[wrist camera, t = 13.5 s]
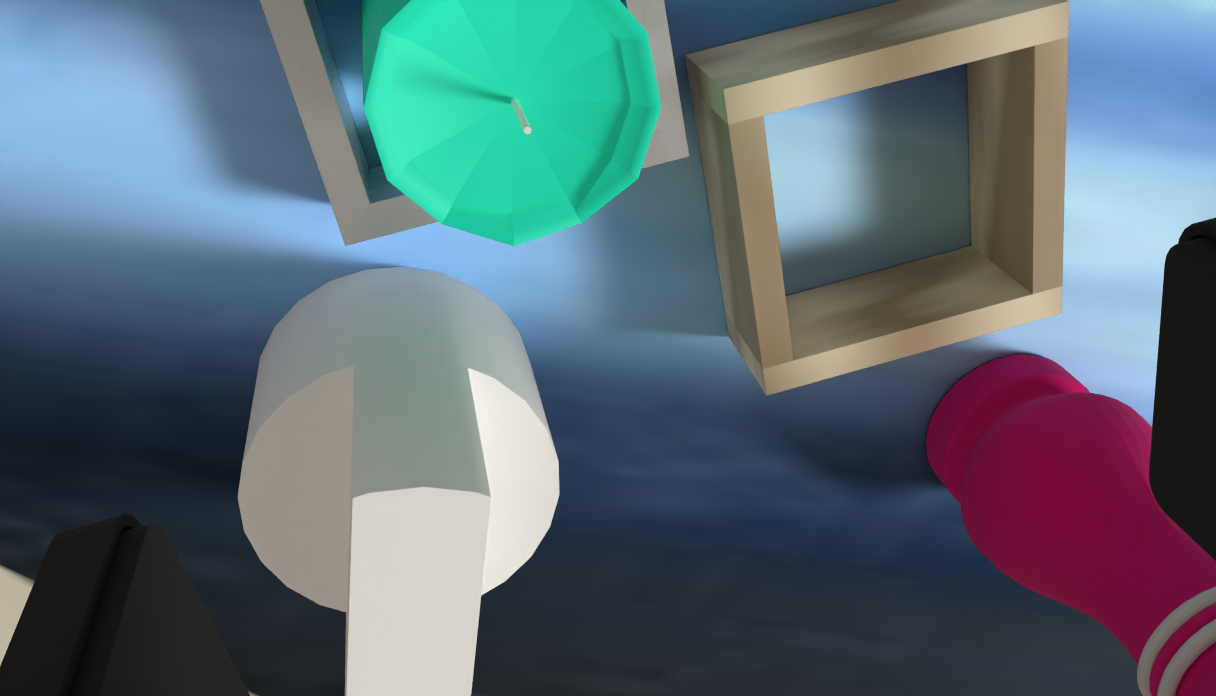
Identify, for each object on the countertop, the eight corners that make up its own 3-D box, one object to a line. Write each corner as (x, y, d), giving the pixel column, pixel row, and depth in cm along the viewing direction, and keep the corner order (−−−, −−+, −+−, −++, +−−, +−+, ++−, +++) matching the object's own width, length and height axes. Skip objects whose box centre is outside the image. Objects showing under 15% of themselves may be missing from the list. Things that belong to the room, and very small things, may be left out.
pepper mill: (875, 442, 41) (1249, 934, 24) (1019, 305, 39) (1532, 727, 22) (982, 528, 44) (1379, 1016, 27) (1119, 405, 43) (1635, 842, 25)
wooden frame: (995, -24, 33) (1068, 1, 30) (998, 263, 38) (1061, 312, 35) (684, 54, 33) (723, 89, 29) (729, 337, 38) (766, 395, 34)
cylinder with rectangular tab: (253, 259, 33) (205, 487, 23) (545, 272, 35) (623, 485, 25) (257, 503, 37) (217, 790, 27) (518, 500, 39) (576, 766, 29)
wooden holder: (601, -235, 28) (625, -235, 26) (663, 126, 33) (689, 156, 31) (224, -149, 28) (211, -140, 25) (346, 207, 33) (345, 245, 30)
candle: (318, -40, 29) (297, 69, 19) (511, -152, 29) (597, -103, 19) (432, 145, 32) (468, 327, 22) (609, 47, 32) (729, 184, 22)
